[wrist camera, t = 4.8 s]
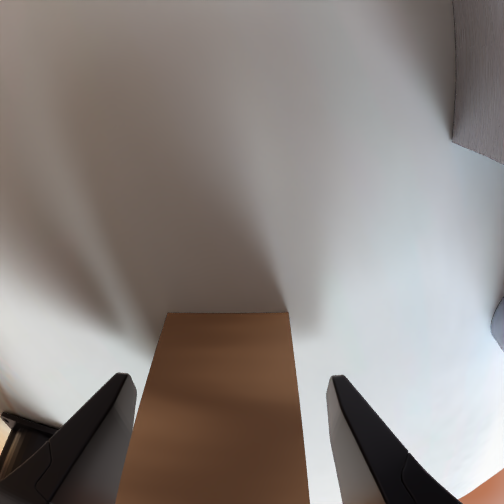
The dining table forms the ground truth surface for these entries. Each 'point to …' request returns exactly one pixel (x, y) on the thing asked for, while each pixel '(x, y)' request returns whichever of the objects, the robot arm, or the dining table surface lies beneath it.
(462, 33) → the socket block
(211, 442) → the square peg
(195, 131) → the dining table surface
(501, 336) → the round dowel
